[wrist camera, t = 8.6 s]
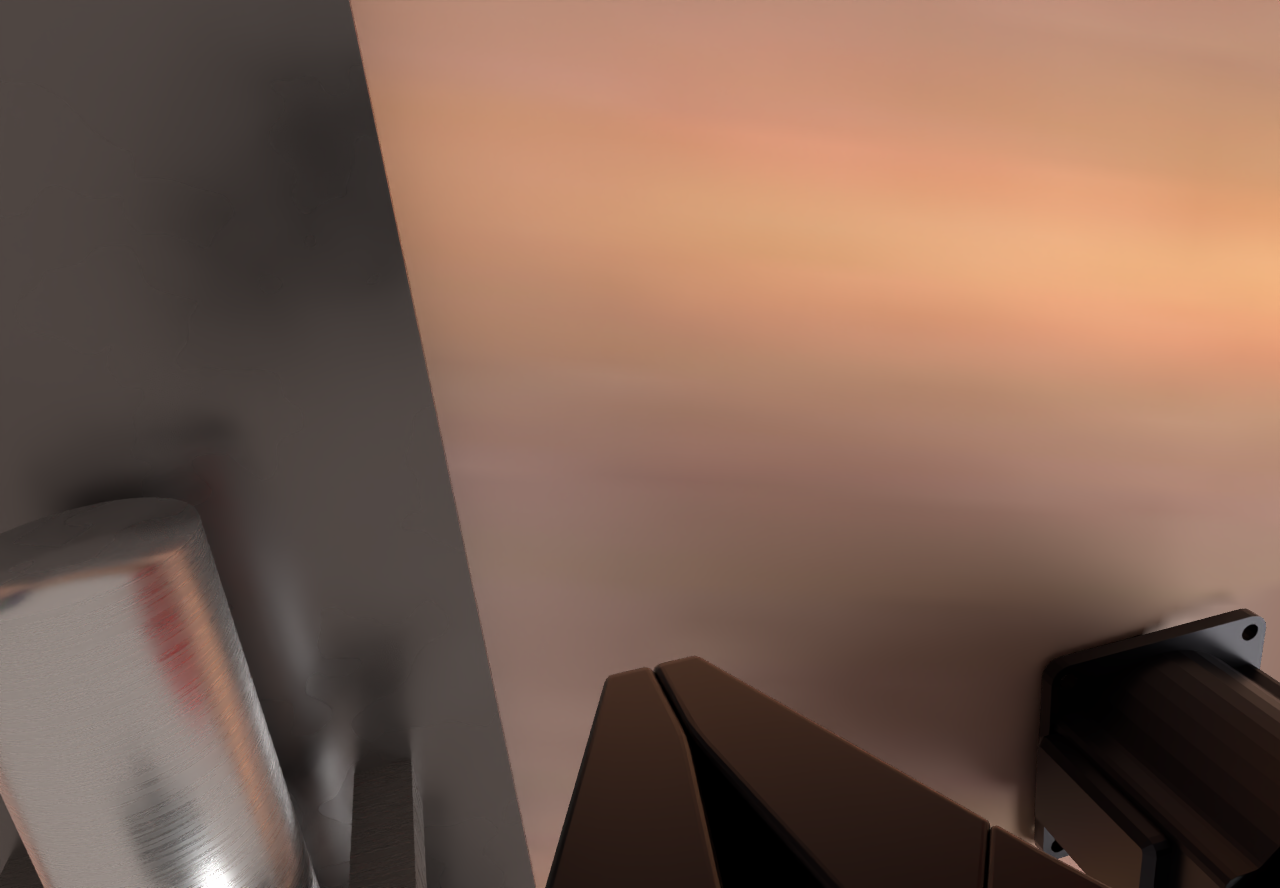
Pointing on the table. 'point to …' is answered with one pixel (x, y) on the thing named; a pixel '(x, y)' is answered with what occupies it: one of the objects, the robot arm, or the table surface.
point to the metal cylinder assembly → (253, 399)
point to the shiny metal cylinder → (135, 709)
